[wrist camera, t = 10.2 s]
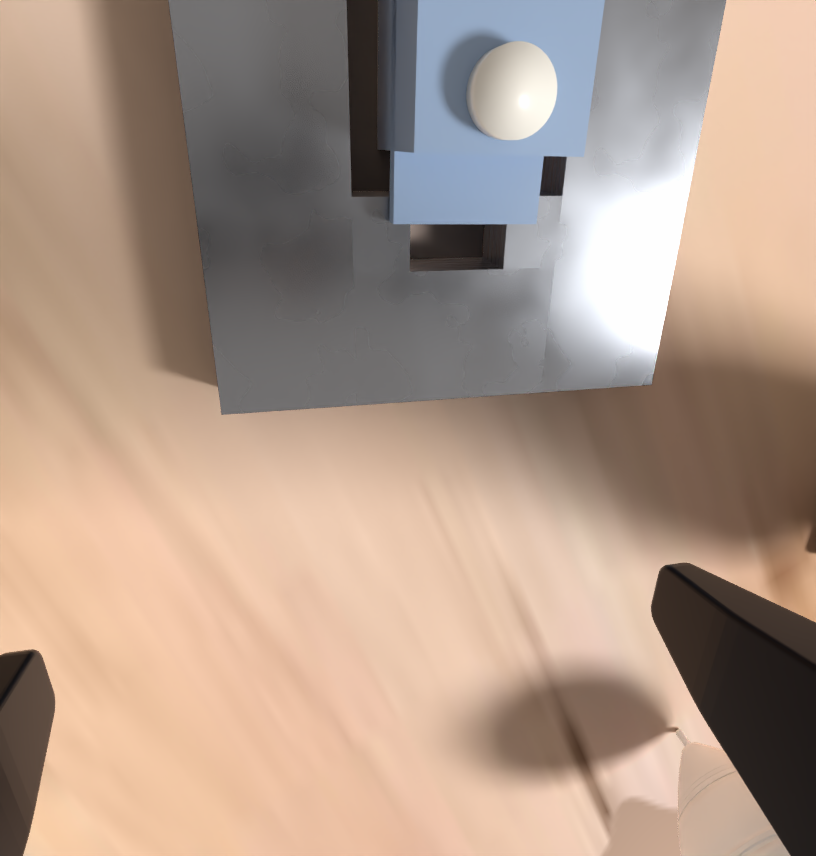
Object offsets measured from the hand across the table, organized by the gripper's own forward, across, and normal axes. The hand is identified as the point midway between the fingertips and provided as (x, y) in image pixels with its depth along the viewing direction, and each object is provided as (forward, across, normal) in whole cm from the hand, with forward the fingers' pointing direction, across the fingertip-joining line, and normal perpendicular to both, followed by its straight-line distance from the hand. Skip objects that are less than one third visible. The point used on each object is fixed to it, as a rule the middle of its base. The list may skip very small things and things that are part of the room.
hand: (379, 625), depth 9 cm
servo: (+12, -4, -9) cm, 16 cm away
